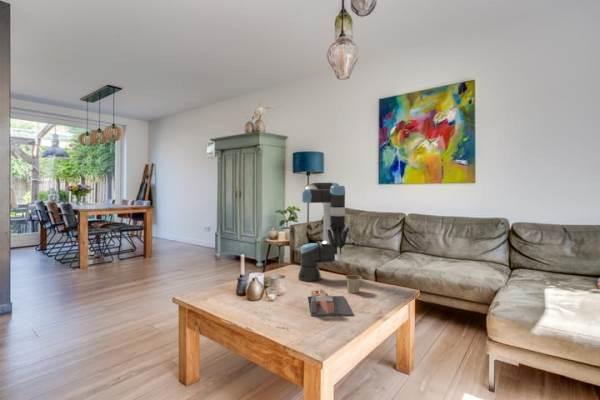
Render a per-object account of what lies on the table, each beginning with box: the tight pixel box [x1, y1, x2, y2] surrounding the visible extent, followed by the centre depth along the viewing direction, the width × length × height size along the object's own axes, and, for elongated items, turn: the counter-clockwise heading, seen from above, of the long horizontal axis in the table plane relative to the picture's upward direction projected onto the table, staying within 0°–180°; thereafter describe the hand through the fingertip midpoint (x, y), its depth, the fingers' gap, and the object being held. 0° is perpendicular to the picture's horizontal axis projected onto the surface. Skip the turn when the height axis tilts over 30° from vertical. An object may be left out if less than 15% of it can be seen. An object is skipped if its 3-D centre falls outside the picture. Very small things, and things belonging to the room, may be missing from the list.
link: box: [310, 289, 334, 313], centre depth 157 cm, size 19×7×5 cm, turn 17°
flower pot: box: [345, 274, 363, 294], centre depth 181 cm, size 9×9×9 cm
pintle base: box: [307, 288, 354, 317], centre depth 159 cm, size 24×20×8 cm
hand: (337, 260), depth 162 cm, fingers closed
